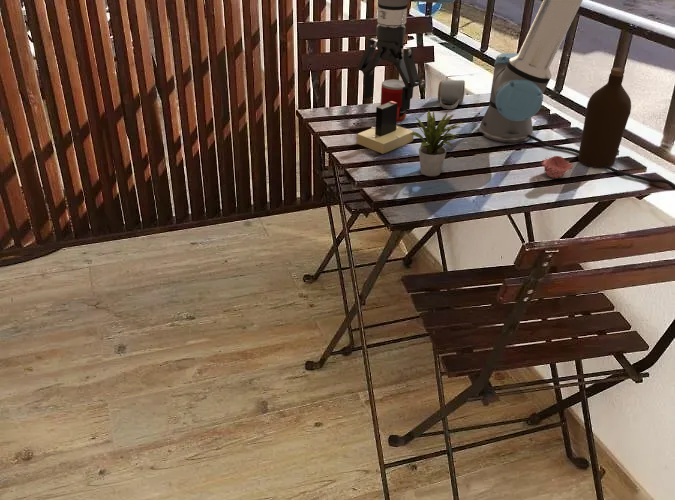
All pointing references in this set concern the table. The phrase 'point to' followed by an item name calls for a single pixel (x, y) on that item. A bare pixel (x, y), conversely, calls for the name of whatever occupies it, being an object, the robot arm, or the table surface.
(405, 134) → the tan box
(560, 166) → the flower
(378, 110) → the red-topped black block
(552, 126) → the table surface
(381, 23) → the robot arm
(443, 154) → the house plant
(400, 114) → the canned food
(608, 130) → the olive oil
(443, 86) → the ceramic mug
